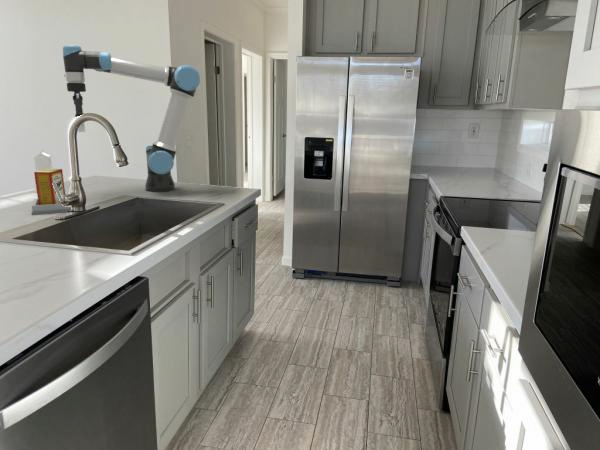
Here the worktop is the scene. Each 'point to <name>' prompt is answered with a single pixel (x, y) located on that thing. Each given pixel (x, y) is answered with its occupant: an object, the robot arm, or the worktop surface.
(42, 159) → the long grey-white prism
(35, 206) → the dock
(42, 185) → the baking soda box
